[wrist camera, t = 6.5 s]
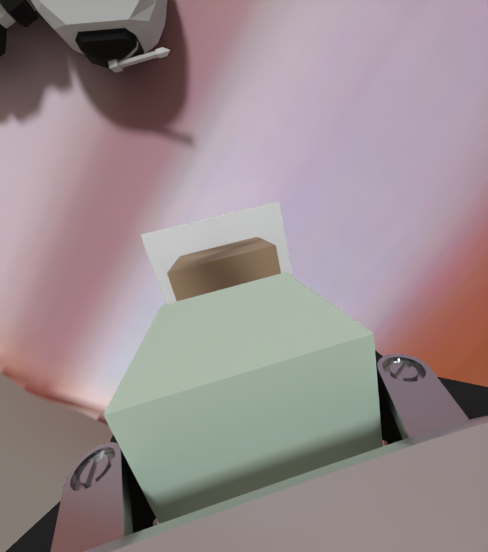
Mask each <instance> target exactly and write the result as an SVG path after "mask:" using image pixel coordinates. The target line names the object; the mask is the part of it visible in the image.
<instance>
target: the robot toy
mask: <svg viewBox="0 0 488 552" xmlns="http://www.w3.org/2000/svg"><path fill="white" fill-rule="evenodd" d="M36 10H37V11H38V12H39V13H40V14H41V16H42V17H43V18H44V19H45V20H46V21H47V22H48V23H49V24H50V26H51V27H52V28H53V29H54V30H55V31H56V32H57V33H58V34H59V35H60V36H61V37H62V38H63V39H64V40H65V42H66V43H67V44H68V45H69V46H70V47H71V48H72V49H73V50H74V51H76V52H79V53H82V54H84V55H85V56H86V57H87V58H88V59H89V60H90V61H91V62H92V63H93V64H97V65H100V66H103V67H106V68H110V69H111V70H112V71H114V72H115V73H116V72H120V71H123V67H126V66H130V65H133V64H137V63H140V62H144V61H147V60H151V59H154V58H158V57H159V58H163V57H167V55H168V53H169V52H170V50H169V49H166V48H164V47H161V48H158V49H155V50H156V51H153V52H149V53H147V52H148V51H149V50H151V49H152V48H153V47H154V46H155V45H157V44H158V42H159V39H160V37H161V34H162V32H163V29H164V26H165V21H166V12H167V0H0V57H1V56H2V55H3V54H4V53H5V50H6V40H7V28H8V27H9V26H11V25H12V24H13V23H14V22H16V21H17V22H18V23H19V24H21V25H22V26H24V27H28V26H29V25H30V24H31V23H33V22H34V21H35V20H37V19H38V16H37V14H36V13H35V11H36ZM144 53H146V54H144Z"/></svg>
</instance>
